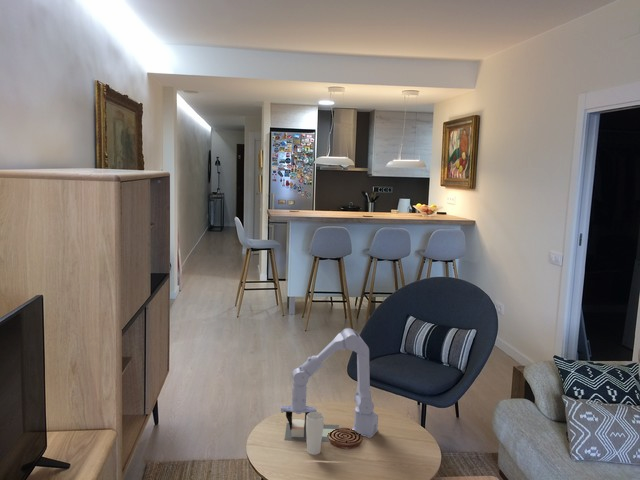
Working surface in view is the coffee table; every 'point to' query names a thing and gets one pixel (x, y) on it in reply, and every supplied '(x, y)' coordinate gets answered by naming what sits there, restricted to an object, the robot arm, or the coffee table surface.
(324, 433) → the mat
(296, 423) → the card box
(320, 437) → the white cylinder
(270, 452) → the coffee table surface
